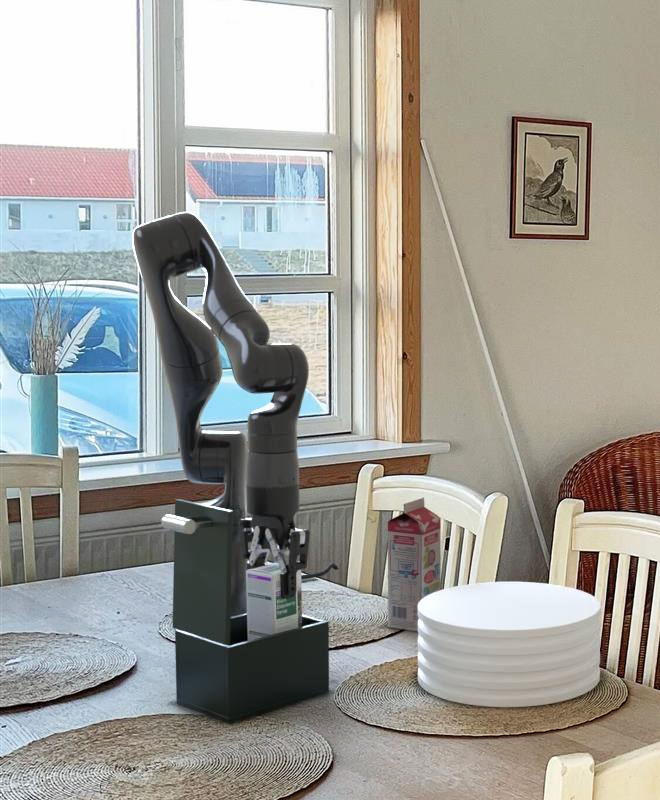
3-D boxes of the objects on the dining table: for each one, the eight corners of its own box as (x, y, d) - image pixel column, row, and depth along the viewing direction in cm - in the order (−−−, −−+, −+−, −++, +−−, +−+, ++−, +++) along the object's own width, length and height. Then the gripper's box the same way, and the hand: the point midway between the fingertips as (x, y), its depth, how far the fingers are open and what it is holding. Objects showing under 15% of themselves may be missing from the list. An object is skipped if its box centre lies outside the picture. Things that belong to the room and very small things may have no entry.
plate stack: (623, 661, 218) (624, 591, 216) (561, 717, 191) (562, 638, 190) (464, 642, 227) (465, 575, 226) (385, 693, 201) (384, 617, 199)
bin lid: (179, 498, 192) (146, 502, 188) (233, 510, 185) (200, 514, 180) (177, 626, 194) (144, 632, 190) (230, 644, 186) (196, 650, 182)
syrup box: (275, 671, 196) (274, 573, 195) (246, 664, 199) (245, 567, 198) (303, 661, 201) (303, 566, 199) (274, 654, 204) (274, 560, 203)
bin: (276, 674, 208) (275, 606, 207) (329, 692, 201) (328, 621, 199) (176, 703, 195) (174, 630, 194) (229, 723, 187) (227, 647, 186)
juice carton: (387, 627, 235) (387, 502, 233) (407, 617, 241) (407, 495, 239) (421, 631, 233) (421, 505, 230) (440, 621, 239) (440, 499, 236)
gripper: (325, 483, 196) (325, 597, 197) (263, 471, 205) (264, 580, 207) (282, 490, 190) (283, 607, 192) (221, 478, 199) (223, 589, 201)
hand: (274, 593), depth 199 cm, fingers closed on syrup box, 6 cm apart
